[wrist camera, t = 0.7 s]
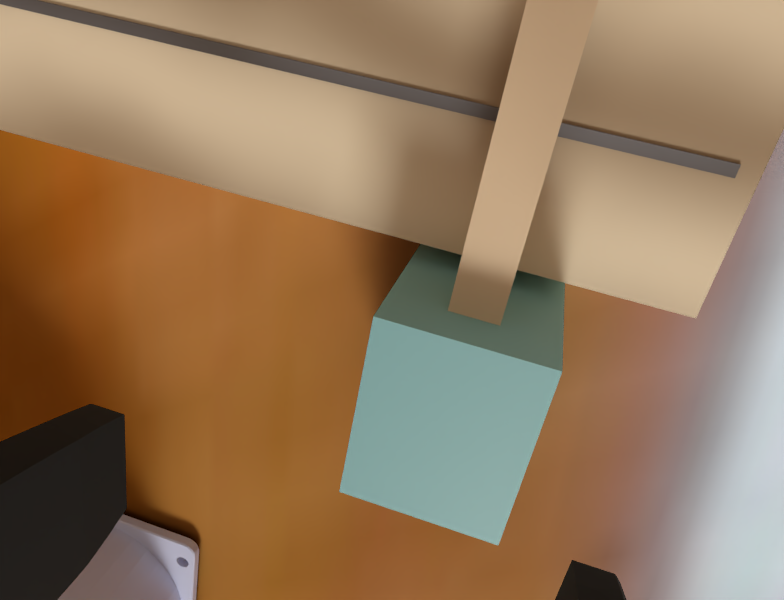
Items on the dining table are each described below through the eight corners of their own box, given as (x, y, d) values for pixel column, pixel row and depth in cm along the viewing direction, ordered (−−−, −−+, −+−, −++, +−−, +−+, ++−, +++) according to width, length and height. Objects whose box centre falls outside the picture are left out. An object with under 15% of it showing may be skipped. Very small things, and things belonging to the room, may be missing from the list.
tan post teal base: (515, 423, 19) (498, 545, 15) (391, 385, 20) (339, 491, 16) (661, -4, 14) (703, -12, 10) (484, -40, 14) (447, -62, 10)
